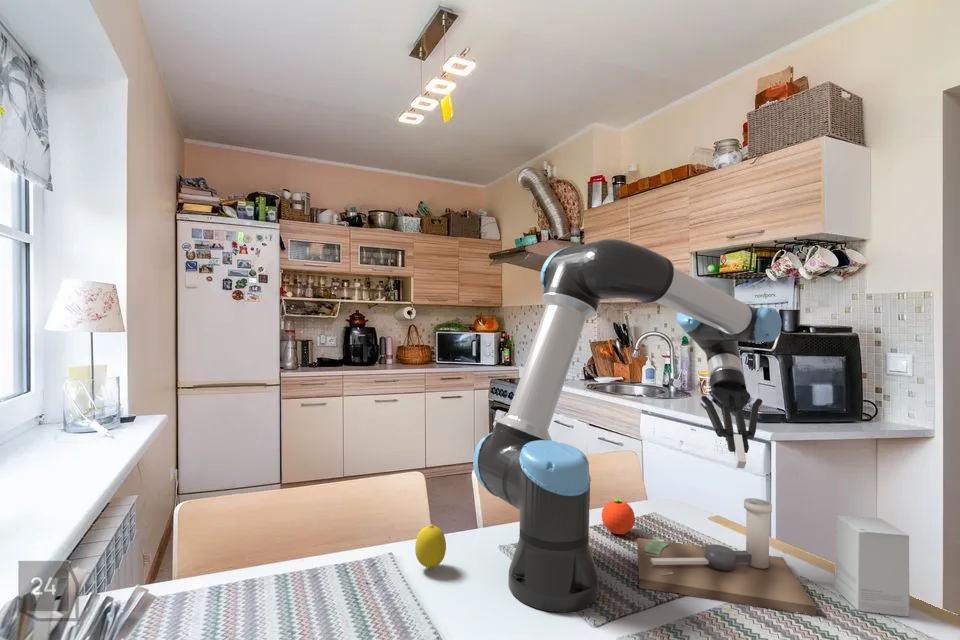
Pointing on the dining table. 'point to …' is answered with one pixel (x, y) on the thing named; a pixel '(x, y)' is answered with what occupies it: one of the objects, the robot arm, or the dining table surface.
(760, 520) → the knobbed stick and post
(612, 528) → the clementine
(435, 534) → the lemon
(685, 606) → the dining table surface
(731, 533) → the dining table surface
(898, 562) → the supplement box
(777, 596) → the brown wooden board
